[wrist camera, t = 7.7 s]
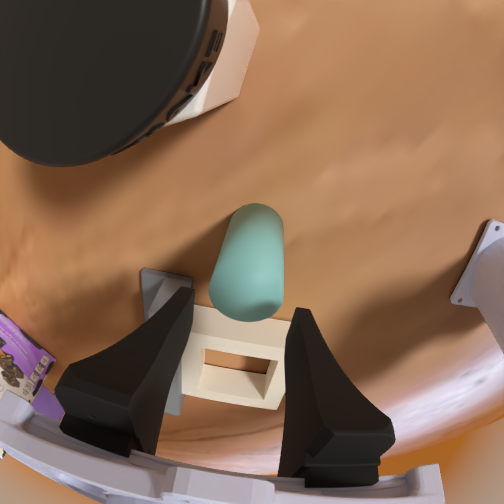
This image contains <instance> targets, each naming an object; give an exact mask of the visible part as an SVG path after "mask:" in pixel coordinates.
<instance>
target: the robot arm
mask: <svg viewBox="0 0 504 504" xmlns="http://www.w3.org/2000/svg"><path fill="white" fill-rule="evenodd" d="M496 226H497V228H496V229H495V227H496ZM194 296H195V289H193V288H188V287H183V286H181V287H180V288H179V289H178V290H177V291H176V292H175V293H174V294H173V296H172V297H171V298H170V299H169V300H168V301H167V302H166V303H165V304H164V305H163V306H162V307H161V308H160V309H159V310H158V311H157V312H156V313H155V314H154V315H153V316H152V317H150V318H149V319H148V320H147V321H146V322H145V323H143V324H142V325H141V326H140V327H139V328H137V329H136V330H135V331H133V332H132V333H131V334H129V335H128V336H126V337H125V338H123V339H122V340H120V341H119V342H117V343H115V344H114V345H112V346H110V347H109V348H107V349H105V350H103V351H101V352H99V353H97V354H95V355H93V356H90V357H88V358H85V359H83V360H80V361H77V362H75V363H72V364H70V365H69V366H68V368H67V369H66V370H65V371H64V373H63V375H62V376H61V378H60V380H59V382H58V384H57V385H56V387H55V395H56V397H57V399H58V401H59V403H60V404H61V406H62V408H63V409H64V411H65V412H66V413H65V415H64V417H63V419H62V421H61V422H58V421H56V420H54V419H52V418H50V417H48V416H45V415H43V414H41V413H39V412H37V411H35V410H34V408H33V406H32V405H31V403H30V402H29V401H27V400H26V399H24V398H23V397H21V396H19V395H17V394H15V393H13V392H12V391H10V390H6V391H5V393H4V394H3V396H2V398H1V400H0V447H1V448H2V449H3V450H4V451H5V452H7V453H8V454H9V455H10V456H12V457H14V458H15V459H17V460H19V461H20V462H22V463H24V464H25V465H27V466H29V467H30V468H32V469H34V470H36V471H38V472H39V473H41V474H43V475H44V476H46V477H48V478H50V479H52V480H54V481H56V482H58V483H59V484H61V485H64V486H65V487H67V488H69V489H72V490H74V491H76V492H78V493H80V494H82V495H84V496H86V497H89V498H91V499H93V500H96V501H98V502H100V503H103V504H445V499H444V492H443V486H442V481H441V475H440V470H439V465H438V464H437V463H435V464H429V465H422V466H417V467H414V468H412V469H410V470H409V471H408V472H407V473H406V474H398V475H389V476H379V475H378V466H379V465H380V463H381V462H380V456H381V455H382V454H384V453H385V452H386V451H387V450H388V449H390V448H391V447H392V445H393V444H394V443H395V440H396V439H395V434H394V428H393V425H392V422H391V419H390V418H389V417H388V416H386V415H385V414H384V413H383V412H381V411H380V410H379V409H378V408H376V407H375V406H374V405H373V404H372V403H371V402H370V401H369V400H368V399H367V398H366V397H365V396H364V395H363V394H362V393H361V392H360V391H359V390H358V389H357V388H356V387H355V385H354V384H353V383H352V382H351V381H350V380H349V378H348V377H347V376H346V374H345V373H344V372H343V370H342V369H341V367H340V366H339V364H338V363H337V361H336V360H335V358H334V356H333V355H332V353H331V351H330V350H329V348H328V346H327V344H326V342H325V340H324V338H323V337H322V335H321V333H320V330H319V328H318V326H317V324H316V322H315V320H314V317H313V315H312V313H311V311H310V309H305V308H298V307H296V309H295V312H294V315H293V318H292V321H291V324H290V327H289V330H288V333H287V336H286V340H285V352H284V370H285V395H286V408H285V420H284V431H283V440H282V448H281V456H280V463H279V470H278V476H277V477H274V476H263V475H253V474H245V473H237V472H230V471H224V470H217V469H212V468H206V467H201V466H196V465H191V464H186V463H182V462H177V461H173V460H169V459H165V458H161V457H157V456H155V452H156V447H157V442H158V437H159V432H160V428H161V423H162V419H163V415H164V410H165V406H166V402H167V398H168V394H169V391H170V387H171V384H172V381H173V378H174V375H175V373H176V370H177V368H178V365H179V363H180V360H181V358H182V355H183V352H184V350H185V347H186V345H187V342H188V339H189V335H190V332H191V328H192V324H193V313H194ZM450 301H451V303H452V304H456V305H463V306H470V307H477V308H478V309H479V311H480V313H481V314H482V316H483V318H484V319H485V321H486V323H487V325H488V326H489V328H490V330H491V332H492V333H493V335H494V337H495V339H496V341H497V342H498V344H499V346H500V348H501V350H502V352H503V354H504V223H502V222H499V221H497V220H494V219H491V220H490V221H488V223H487V225H486V227H485V230H484V232H483V234H482V236H481V239H480V241H479V243H478V245H477V247H476V249H475V251H474V253H473V255H472V257H471V259H470V261H469V263H468V265H467V267H466V269H465V271H464V273H463V275H462V277H461V279H460V281H459V282H458V284H457V286H456V288H455V290H454V291H453V293H452V295H451V297H450Z"/></svg>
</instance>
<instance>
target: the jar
mask: <svg viewBox="0 0 504 504" xmlns="http://www.w3.org/2000/svg"><path fill="white" fill-rule="evenodd" d="M259 32H260V27H259V24H258V22H257V19H256V17H255V14H254V12H253V9H252V7H251V4H250V2H249V0H0V140H1V141H2V143H4V144H5V145H6V146H7V147H8V148H9V149H10V150H12V151H13V152H14V153H16V154H17V155H19V156H21V157H23V158H24V159H26V160H29V161H31V162H33V163H37V164H40V165H44V166H50V167H72V166H78V165H83V164H87V163H91V162H94V161H97V160H99V159H102V158H104V157H106V156H108V155H114V154H117V153H119V152H121V151H123V150H125V149H127V148H129V147H131V146H133V145H135V144H137V143H138V142H140V141H142V140H144V139H146V138H148V137H149V136H150V135H152V134H153V133H155V132H156V131H158V130H159V129H161V128H162V127H165V126H168V125H171V124H175V123H178V122H181V121H184V120H187V119H190V118H193V117H197V116H199V115H201V114H203V113H205V112H207V111H209V110H212V109H214V108H216V107H218V106H220V105H223V104H225V103H227V102H229V101H232V100H234V99H236V98H237V97H238V96H239V93H240V90H241V87H242V83H243V80H244V77H245V74H246V71H247V68H248V65H249V62H250V59H251V55H252V52H253V49H254V47H255V44H256V41H257V38H258V35H259Z"/></svg>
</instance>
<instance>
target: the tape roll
mask: <svg viewBox="0 0 504 504" xmlns="http://www.w3.org/2000/svg"><path fill="white" fill-rule="evenodd" d="M31 405H32V406H33V408H34V410H35V411H37V412H39V413H41V414H43V415H45V416H48V417H50V418H52V419H54V420H56V421H58V422H60V421H61V419H62V417H63V415H64V413H65V411H64V409H63V408H62V406H61V404H60V403H59V401H58V399H57V397H56V396H55V395H54V394H53V393H52V392H50V391H49V390H48V389H47V388H46V387H44V386H43V385H42V386H41V388H40V390H39V391H38V393H37V395H36V397H35V399H34V401H33V403H32V404H31Z"/></svg>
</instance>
